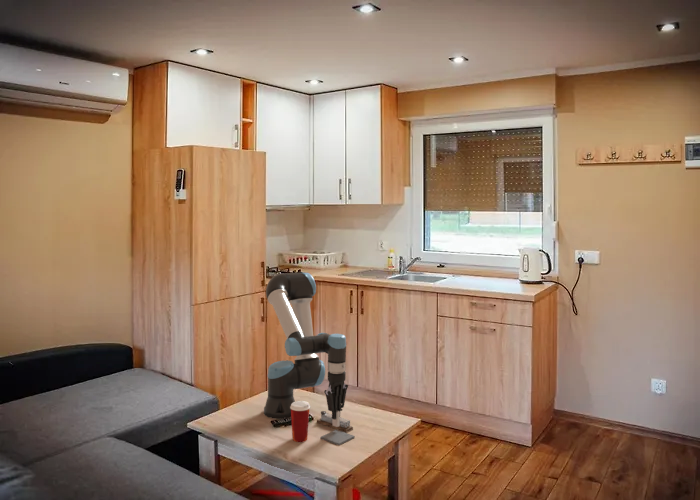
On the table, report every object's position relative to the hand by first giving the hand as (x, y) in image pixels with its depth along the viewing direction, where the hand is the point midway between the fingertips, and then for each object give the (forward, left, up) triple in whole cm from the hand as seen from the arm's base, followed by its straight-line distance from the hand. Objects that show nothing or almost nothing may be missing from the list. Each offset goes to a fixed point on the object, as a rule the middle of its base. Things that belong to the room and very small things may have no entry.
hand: (335, 425), depth 244 cm
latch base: (-5, +5, -3) cm, 8 cm away
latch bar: (-5, +5, -1) cm, 7 cm away
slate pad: (+5, -4, -3) cm, 7 cm away
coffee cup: (-6, -15, -3) cm, 17 cm away
